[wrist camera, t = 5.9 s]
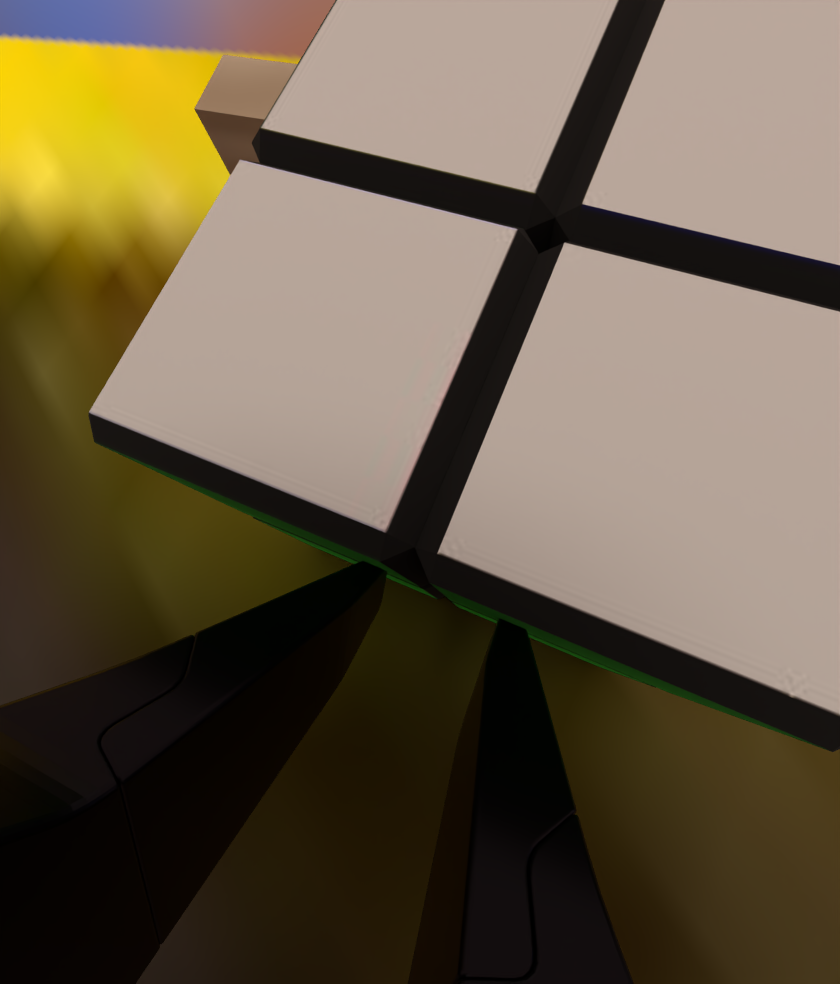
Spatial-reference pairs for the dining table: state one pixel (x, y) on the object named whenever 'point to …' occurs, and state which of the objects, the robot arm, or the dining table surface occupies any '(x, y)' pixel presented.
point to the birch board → (240, 104)
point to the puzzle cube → (538, 331)
